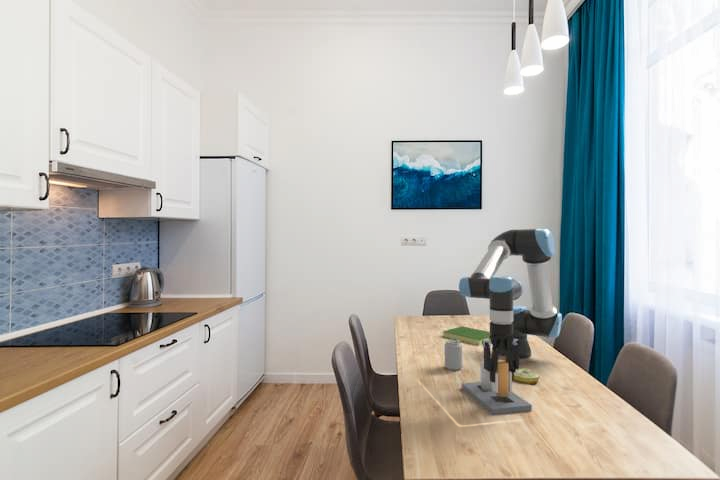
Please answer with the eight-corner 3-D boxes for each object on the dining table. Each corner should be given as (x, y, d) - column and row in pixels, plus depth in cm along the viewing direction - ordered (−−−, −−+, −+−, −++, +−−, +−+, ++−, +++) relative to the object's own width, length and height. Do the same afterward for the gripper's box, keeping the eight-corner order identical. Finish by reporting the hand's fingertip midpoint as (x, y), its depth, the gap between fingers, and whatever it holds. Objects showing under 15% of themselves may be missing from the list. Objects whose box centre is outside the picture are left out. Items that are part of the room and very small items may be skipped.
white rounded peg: (489, 390, 141) (489, 360, 141) (495, 394, 137) (495, 364, 137) (478, 391, 140) (478, 361, 140) (484, 395, 136) (484, 365, 136)
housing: (461, 389, 143) (461, 383, 143) (495, 386, 146) (495, 380, 146) (492, 416, 121) (492, 409, 121) (531, 412, 124) (531, 405, 124)
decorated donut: (543, 380, 153) (543, 370, 153) (533, 387, 145) (533, 378, 145) (516, 373, 160) (516, 364, 160) (506, 381, 152) (506, 371, 152)
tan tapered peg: (504, 391, 131) (504, 359, 131) (511, 396, 127) (511, 363, 127) (492, 392, 130) (492, 360, 130) (499, 397, 126) (499, 364, 126)
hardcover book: (498, 340, 213) (498, 333, 213) (479, 346, 201) (479, 339, 201) (461, 332, 232) (461, 326, 232) (441, 337, 220) (441, 331, 220)
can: (462, 371, 162) (462, 343, 162) (444, 370, 164) (444, 342, 164) (461, 365, 170) (461, 339, 170) (444, 364, 171) (444, 338, 171)
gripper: (518, 318, 134) (518, 384, 134) (472, 320, 131) (472, 388, 131) (531, 323, 126) (531, 392, 126) (483, 325, 123) (483, 397, 123)
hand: (501, 390), depth 128 cm, fingers closed on tan tapered peg, 4 cm apart
